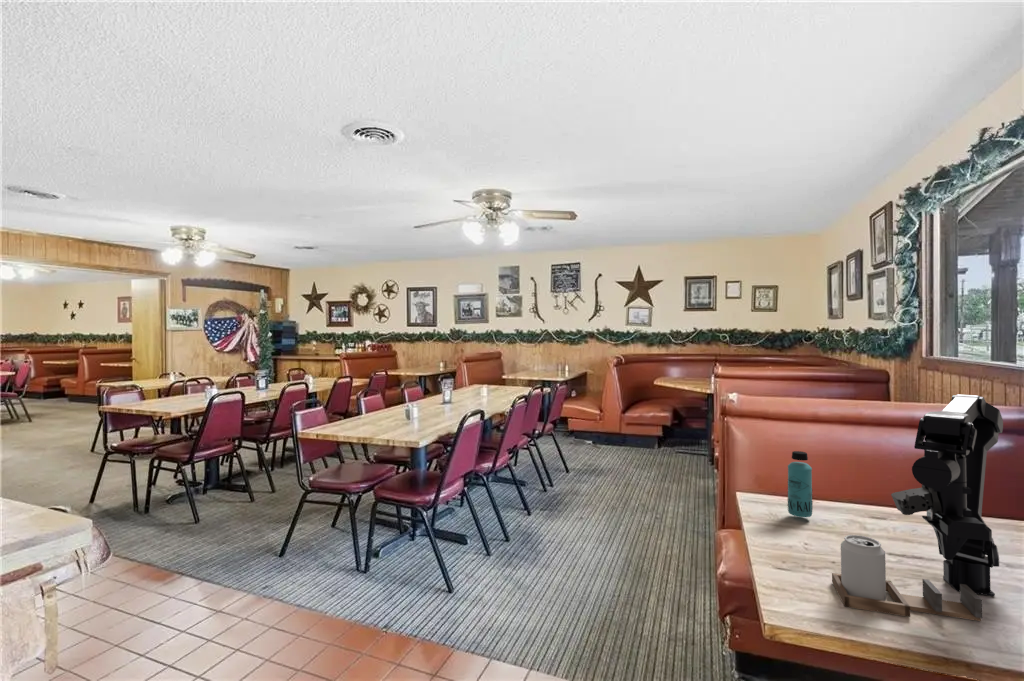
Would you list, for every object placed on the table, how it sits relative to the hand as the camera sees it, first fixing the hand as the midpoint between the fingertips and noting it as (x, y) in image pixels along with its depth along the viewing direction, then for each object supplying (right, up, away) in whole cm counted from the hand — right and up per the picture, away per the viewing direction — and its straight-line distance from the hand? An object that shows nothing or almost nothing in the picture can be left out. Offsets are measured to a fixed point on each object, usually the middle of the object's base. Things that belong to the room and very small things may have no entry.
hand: (947, 559), depth 95 cm
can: (-13, -11, +6) cm, 17 cm away
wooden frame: (-6, -10, +3) cm, 12 cm away
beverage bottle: (+1, -11, +50) cm, 52 cm away
